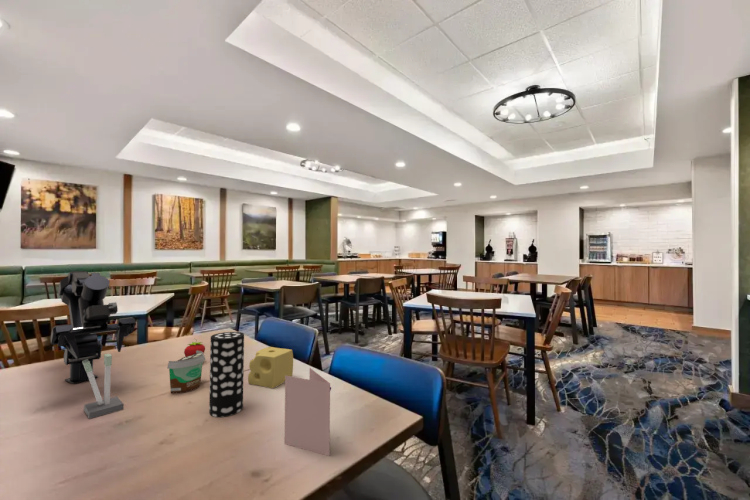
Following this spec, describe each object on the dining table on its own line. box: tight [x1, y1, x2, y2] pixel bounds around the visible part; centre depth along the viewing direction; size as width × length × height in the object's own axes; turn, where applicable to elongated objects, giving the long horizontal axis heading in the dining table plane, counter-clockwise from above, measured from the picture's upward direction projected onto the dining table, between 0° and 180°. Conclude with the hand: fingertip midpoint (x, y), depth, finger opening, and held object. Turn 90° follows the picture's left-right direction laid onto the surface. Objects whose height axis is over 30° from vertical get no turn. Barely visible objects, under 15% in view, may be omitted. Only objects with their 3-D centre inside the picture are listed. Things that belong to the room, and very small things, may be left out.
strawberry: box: [183, 339, 206, 357], centre depth 125 cm, size 6×8×10 cm
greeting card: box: [283, 367, 332, 457], centre depth 72 cm, size 11×7×15 cm, turn 33°
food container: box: [166, 351, 206, 395], centre depth 102 cm, size 12×6×10 cm, turn 168°
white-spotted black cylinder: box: [208, 331, 245, 418], centre depth 88 cm, size 8×8×20 cm
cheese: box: [247, 346, 294, 389], centre depth 109 cm, size 10×11×10 cm
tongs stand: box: [83, 353, 124, 420], centre depth 88 cm, size 7×7×14 cm
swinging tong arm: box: [82, 359, 103, 406], centre depth 86 cm, size 3×1×12 cm, turn 50°
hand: (99, 354), depth 93 cm, fingers open, 9 cm apart
